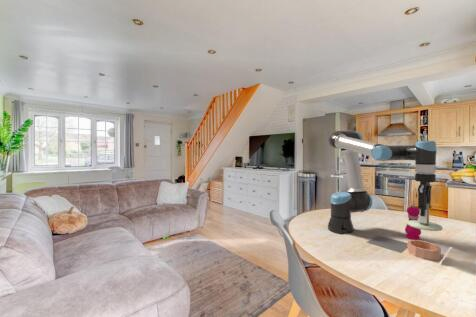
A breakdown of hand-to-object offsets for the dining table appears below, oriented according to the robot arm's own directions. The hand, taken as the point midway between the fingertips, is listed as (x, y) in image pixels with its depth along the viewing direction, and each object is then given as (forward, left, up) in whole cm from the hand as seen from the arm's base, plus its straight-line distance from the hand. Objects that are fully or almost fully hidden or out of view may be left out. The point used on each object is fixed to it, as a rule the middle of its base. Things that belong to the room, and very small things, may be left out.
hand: (424, 221), depth 107 cm
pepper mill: (-9, +20, -17) cm, 28 cm away
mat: (-15, +1, -16) cm, 22 cm away
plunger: (0, 0, -2) cm, 2 cm away
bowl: (0, 0, -16) cm, 16 cm away
